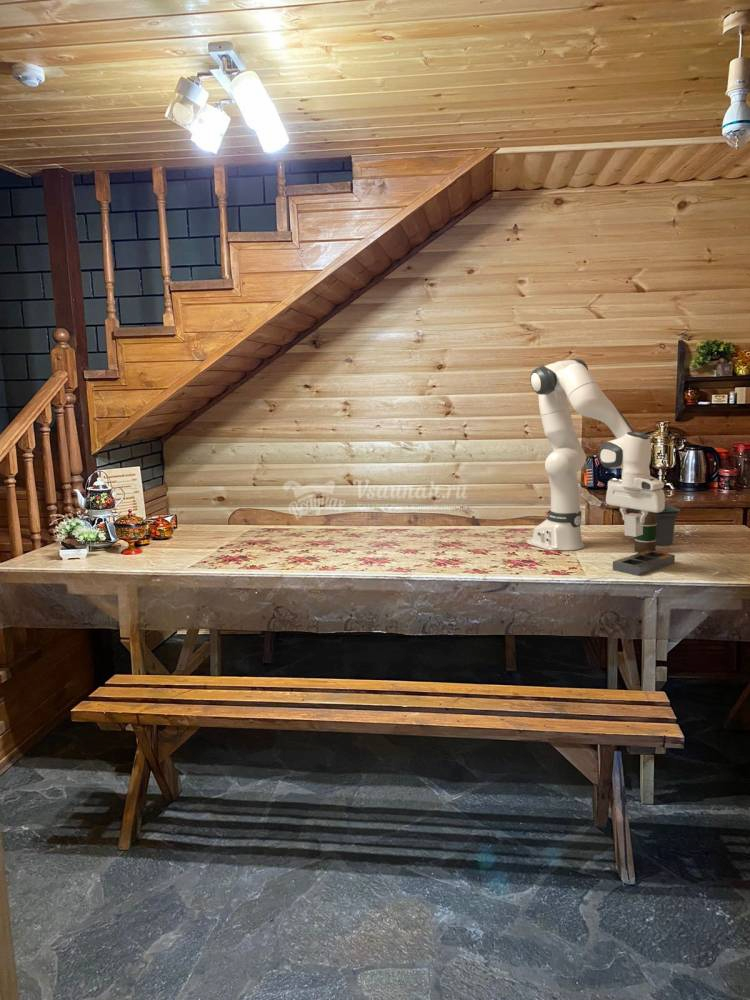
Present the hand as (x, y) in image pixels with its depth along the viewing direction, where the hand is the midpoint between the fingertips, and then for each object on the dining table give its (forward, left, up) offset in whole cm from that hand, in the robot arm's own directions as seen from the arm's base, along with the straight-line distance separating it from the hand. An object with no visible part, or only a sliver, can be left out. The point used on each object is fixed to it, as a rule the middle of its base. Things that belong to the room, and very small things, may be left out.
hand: (633, 521), depth 247 cm
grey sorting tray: (0, +7, -18) cm, 19 cm away
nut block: (0, 0, -5) cm, 5 cm away
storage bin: (-18, +44, -18) cm, 51 cm away
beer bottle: (-12, +27, -18) cm, 34 cm away
